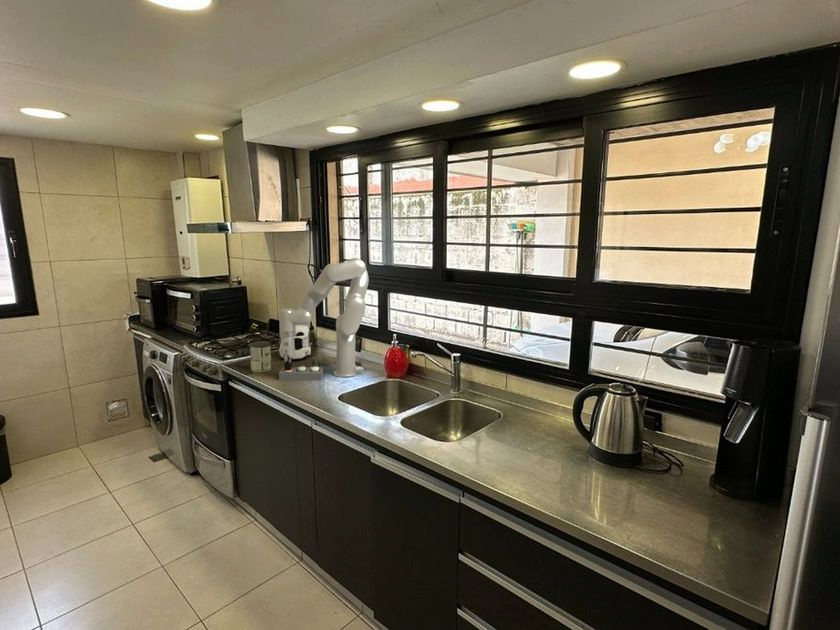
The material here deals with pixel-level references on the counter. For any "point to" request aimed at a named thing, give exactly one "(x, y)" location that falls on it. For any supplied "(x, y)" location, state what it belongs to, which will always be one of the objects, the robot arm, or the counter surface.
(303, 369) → the green button
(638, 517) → the counter surface
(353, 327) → the robot arm
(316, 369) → the cream button
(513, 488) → the counter surface
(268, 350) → the coffee can
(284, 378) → the button panel
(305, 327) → the milk container
